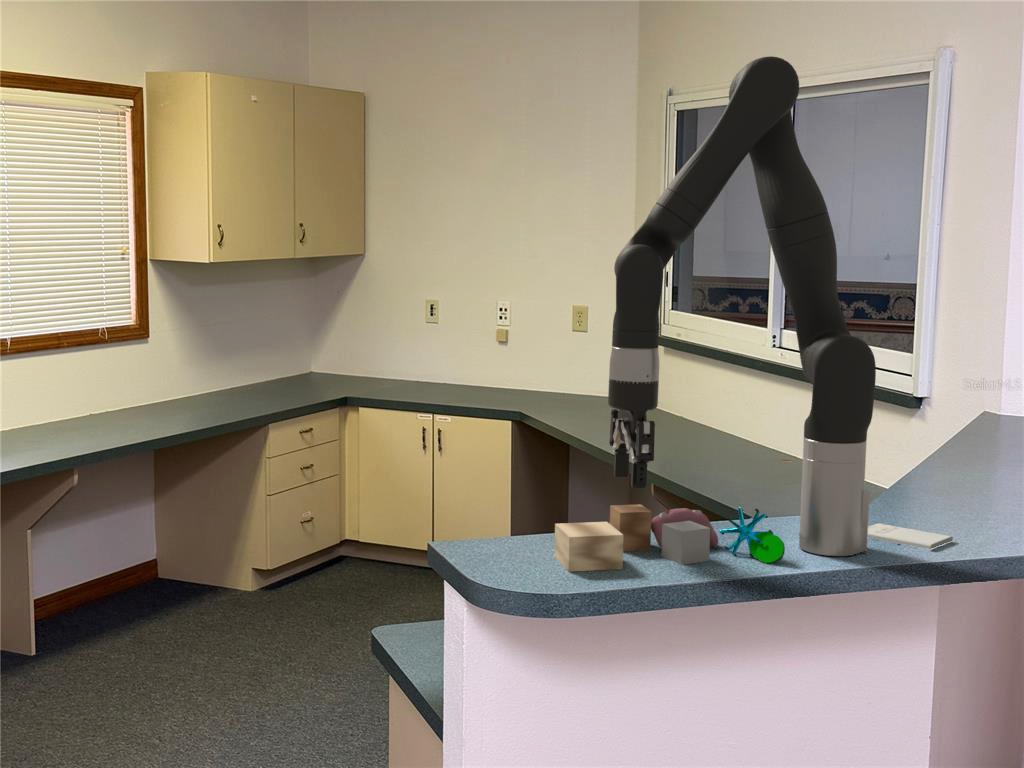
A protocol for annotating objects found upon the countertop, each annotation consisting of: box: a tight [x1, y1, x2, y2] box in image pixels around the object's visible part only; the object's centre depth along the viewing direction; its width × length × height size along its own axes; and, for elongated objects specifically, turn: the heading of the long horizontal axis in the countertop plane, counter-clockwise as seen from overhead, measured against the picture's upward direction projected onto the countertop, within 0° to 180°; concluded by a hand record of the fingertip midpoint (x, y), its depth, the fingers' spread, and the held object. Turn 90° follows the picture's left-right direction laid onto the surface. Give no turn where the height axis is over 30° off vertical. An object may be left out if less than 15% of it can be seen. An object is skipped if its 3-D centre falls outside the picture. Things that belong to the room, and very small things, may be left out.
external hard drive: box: [868, 522, 954, 549], centre depth 178 cm, size 2×8×12 cm
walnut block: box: [609, 503, 652, 552], centre depth 171 cm, size 5×5×6 cm
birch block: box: [554, 521, 624, 573], centre depth 161 cm, size 8×8×5 cm
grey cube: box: [660, 521, 710, 565], centre depth 165 cm, size 5×5×5 cm
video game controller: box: [651, 507, 719, 550], centre depth 172 cm, size 10×5×7 cm, turn 112°
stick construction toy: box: [719, 506, 786, 564], centre depth 168 cm, size 12×7×8 cm
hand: (629, 481), depth 170 cm, fingers open, 8 cm apart
